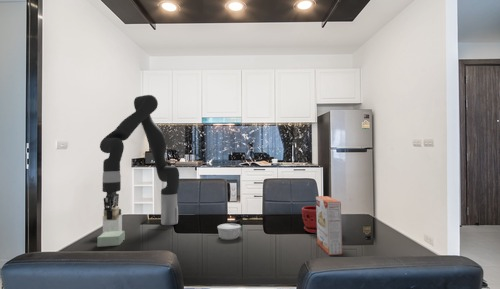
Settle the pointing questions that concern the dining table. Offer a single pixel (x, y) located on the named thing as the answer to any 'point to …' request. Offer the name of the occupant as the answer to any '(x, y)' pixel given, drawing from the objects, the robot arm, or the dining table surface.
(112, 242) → the pedestal
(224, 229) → the ramekin
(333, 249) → the cracker box
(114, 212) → the maple cube
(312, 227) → the plant pot
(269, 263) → the dining table surface
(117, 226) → the jar
